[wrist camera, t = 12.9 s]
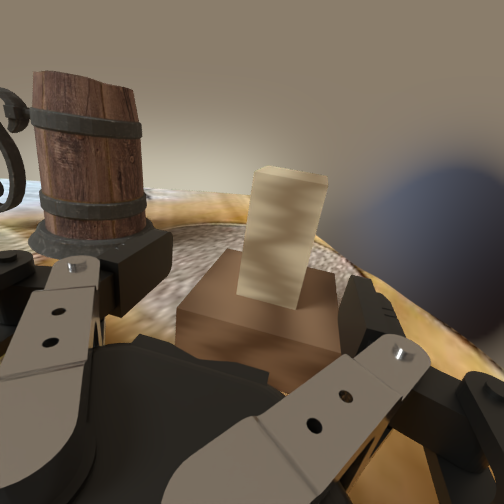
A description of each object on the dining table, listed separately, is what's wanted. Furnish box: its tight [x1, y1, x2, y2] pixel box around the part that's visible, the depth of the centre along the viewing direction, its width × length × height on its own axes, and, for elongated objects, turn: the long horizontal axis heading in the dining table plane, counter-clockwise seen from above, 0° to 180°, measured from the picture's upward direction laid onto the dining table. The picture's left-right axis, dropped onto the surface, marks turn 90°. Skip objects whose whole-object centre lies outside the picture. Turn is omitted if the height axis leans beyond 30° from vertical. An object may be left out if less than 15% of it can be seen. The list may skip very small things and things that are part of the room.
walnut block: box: [175, 248, 341, 394], centre depth 25 cm, size 12×12×5 cm
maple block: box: [236, 165, 328, 310], centre depth 22 cm, size 5×5×10 cm
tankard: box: [0, 71, 156, 260], centre depth 36 cm, size 24×17×20 cm
